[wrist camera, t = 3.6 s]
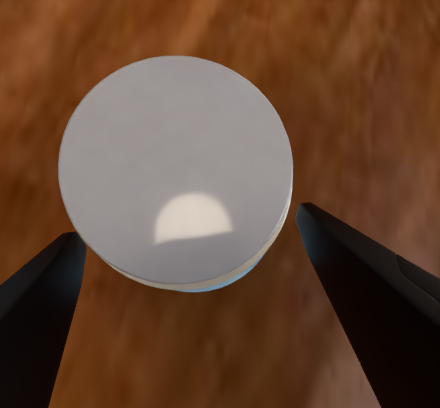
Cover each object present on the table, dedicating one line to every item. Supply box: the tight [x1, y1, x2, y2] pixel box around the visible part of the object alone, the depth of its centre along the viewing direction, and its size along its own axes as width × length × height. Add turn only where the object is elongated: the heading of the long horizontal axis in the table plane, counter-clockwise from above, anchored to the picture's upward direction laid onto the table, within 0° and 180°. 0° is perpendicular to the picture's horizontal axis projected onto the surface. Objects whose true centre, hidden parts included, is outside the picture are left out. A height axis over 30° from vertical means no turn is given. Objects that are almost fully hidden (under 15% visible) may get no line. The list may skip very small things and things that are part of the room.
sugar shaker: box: [58, 55, 293, 290], centre depth 10 cm, size 6×6×11 cm
